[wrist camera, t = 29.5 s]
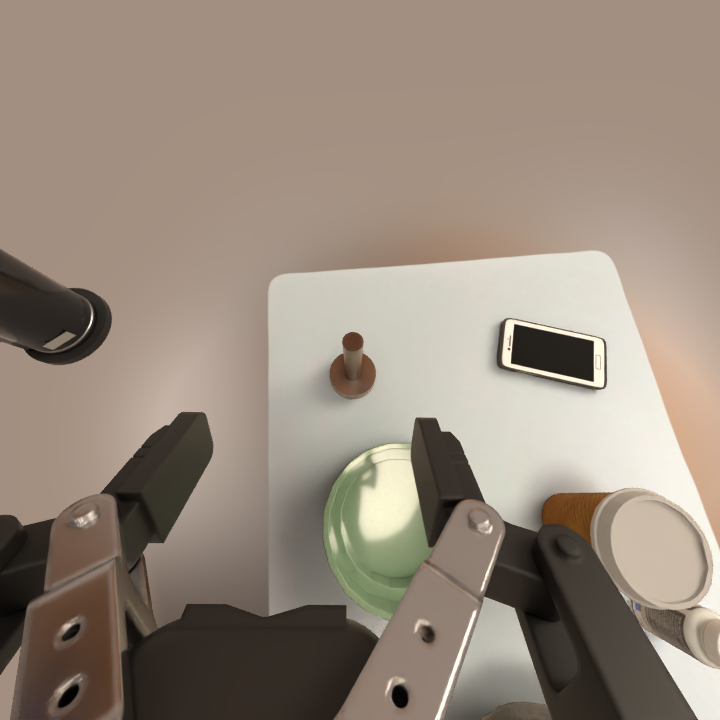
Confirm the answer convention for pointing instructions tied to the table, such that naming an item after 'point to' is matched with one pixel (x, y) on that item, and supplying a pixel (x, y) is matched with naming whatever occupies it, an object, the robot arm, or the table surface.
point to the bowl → (520, 712)
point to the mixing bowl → (375, 528)
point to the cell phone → (553, 353)
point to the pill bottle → (685, 630)
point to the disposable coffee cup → (640, 544)
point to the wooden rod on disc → (352, 369)
